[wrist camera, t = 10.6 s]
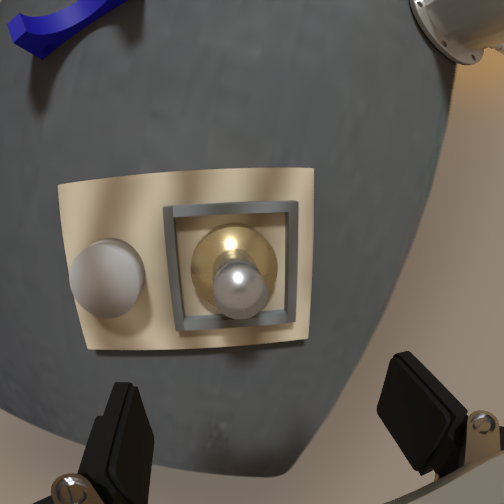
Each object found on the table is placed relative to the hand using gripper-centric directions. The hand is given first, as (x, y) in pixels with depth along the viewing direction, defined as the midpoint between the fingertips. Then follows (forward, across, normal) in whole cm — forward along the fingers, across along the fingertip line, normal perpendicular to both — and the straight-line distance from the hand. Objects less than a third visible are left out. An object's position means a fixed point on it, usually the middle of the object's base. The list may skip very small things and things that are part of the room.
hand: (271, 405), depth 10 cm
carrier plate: (+18, +4, 0) cm, 19 cm away
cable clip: (+19, +14, -26) cm, 35 cm away
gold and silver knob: (+17, 0, 0) cm, 17 cm away
